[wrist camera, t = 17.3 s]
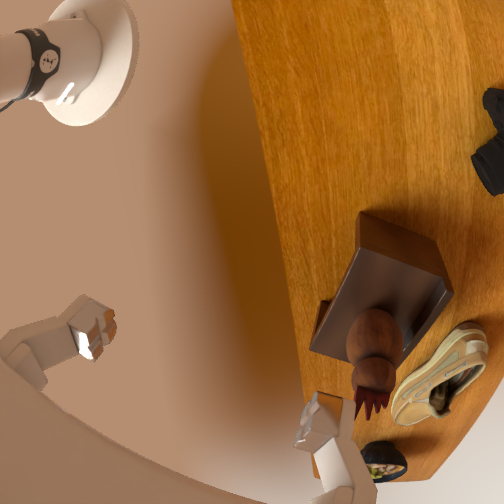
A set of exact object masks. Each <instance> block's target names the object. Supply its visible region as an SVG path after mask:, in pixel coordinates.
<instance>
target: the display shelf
mask: <svg viewBox="0 0 504 504" xmlns="http://www.w3.org/2000/svg"><path fill="white" fill-rule="evenodd" d="M453 295H454V291H453V288H452V285H451V282H450V279H449V276H448V273H447V270H446V268H445V265H444V262H443V260H442V257H441V254H440V252H439V249H438V247H437V244H436V242H435V241H433V240H431V239H428V238H426V237H423V236H421V235H419V234H416V233H414V232H411V231H409V230H406V229H404V228H401V227H399V226H396V225H394V224H391V223H388V222H386V221H383V220H381V219H378V218H375V217H373V216H370V215H367V214H365V213H362V212H359V214H358V217H357V219H356V234H355V253H354V255H353V257H352V259H351V262H350V264H349V266H348V268H347V270H346V272H345V275H344V277H343V279H342V281H341V283H340V285H339V287H338V289H337V291H336V294H335V296H334V298H333V300H332V302H331V304H329V303H326V302H323V301H321V302H320V304H319V306H318V310H317V315H316V320H315V324H314V329H313V333H312V338H311V343H310V347H309V350H310V351H313V352H316V353H319V354H322V355H326V356H329V357H332V358H335V359H338V360H342V361H345V362H348V363H351V362H350V361H349V360H348V356H347V350H346V342H347V336H348V333H349V330H350V328H351V326H352V324H353V322H354V320H355V319H356V317H357V316H358V315H359V314H360V313H362V312H363V311H365V310H367V309H372V308H377V309H381V310H384V311H386V312H388V313H389V314H390V315H391V316H392V317H393V319H394V320H395V322H396V323H397V325H398V326H399V328H400V330H401V332H402V335H403V342H404V344H403V356H402V359H401V361H400V363H399V365H398V366H397V368H398V367H399V366H400V365H401V364H402V363H403V361H404V360H405V359H406V358H407V357H408V355H409V354H410V353H411V352H412V350H413V349H414V348H415V347H416V346H417V344H418V343H419V342H420V340H421V339H422V338H423V337H424V335H425V334H426V333H427V331H428V330H429V329H430V327H431V326H432V325H433V323H434V322H435V321H436V319H437V318H438V316H439V315H440V314H441V312H442V311H443V309H444V308H445V307H446V305H447V304H448V302H449V301H450V299H451V298H452V296H453ZM397 368H396V369H395V371H396V370H397Z"/></svg>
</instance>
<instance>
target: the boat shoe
mask: <svg viewBox="0 0 504 504" xmlns="http://www.w3.org/2000/svg"><path fill="white" fill-rule="evenodd" d="M486 342H487V340H486V335H485V331H484V329H483V327H482V326H480V325H479V324H476V323H472V322H466V323H462V324H460V325H458V326H457V327H456V328H454V329H453V330H452V331H451V332H450V333H449V334H448V335H447V337H446V338H445V339H444V340H443V341H442V342H441V343H440V345H439V346H438V347H437V349H436V350H435V352H434V354H433V355H432V357H431V358H430V359H429V361H428V362H427V363H425V364H424V365H421V366H419V367H418V368H417V369H416V370H414V371H413V372H412V373H411V374H410V375H408V376H407V377H406V378H405V379H404V381H403V382H402V383H401V385H400V386H399V388H398V390H397V392H396V394H395V396H394V399H393V402H392V408H391V413H392V418H393V420H394V421H395V423H396V424H398V425H401V426H411V425H414V424H417V423H419V422H420V421H422V420H425V419H426V418H428V417H430V416H434V417H435V418H438V419H440V418H444V417H445V416H447V415H448V414H449V413H450V410H449V406H450V404H451V403H452V402H453V400H454V398H455V397H456V396H457V395H459V394H460V393H461V392H462V391H463V390H465V389H466V388H467V387H468V386H469V385H470V384H471V383H472V382H474V381H475V380H476V379H477V378H478V377H479V376H480V375H481V374H482V373H483V372H484V370H485V368H486V366H487V353H488V350H489V347H488V344H487V343H486Z"/></svg>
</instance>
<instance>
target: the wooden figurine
mask: <svg viewBox="0 0 504 504" xmlns="http://www.w3.org/2000/svg"><path fill="white" fill-rule="evenodd" d="M403 344H404V342H403V335H402V332H401V330H400V328H399V326H398V325H397V323H396V322H395V320H394V319H393V317H392V316H391V315H390V314H389V313H388V312H386V311H384V310H381V309H377V308H372V309H367V310H365V311H363V312H362V313H360V314H359V315H358V316H357V317H356V319H355V320H354V322H353V324H352V326H351V328H350V330H349V333H348V336H347V342H346V350H347V356H348V360H349V361H350V362H351V364H352V365H353V366H354V367H355V368H354V370H353V373H352V387H353V390H354V391H355V394H354V401H355V403H356V409H355V417H354V421H355V419H356V417H357V415H358V412H359V410H360V408H361V406H362V403H363V401H364V403H365V413H366V420H367V421H369V420H370V416H371V412H372V408H373V404H374V406H375V411H376V413H377V414H378V413H379V412H380V407H381V404H382V406H383V408H384V409H385V408H386V407H387V405H388V402H389V398H390V394H391V392H392V391H393V389H394V387H395V382H396V371H395V369H396V368H397V366H398V365H399V363H400V361H401V359H402V356H403Z"/></svg>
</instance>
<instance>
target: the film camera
mask: <svg viewBox="0 0 504 504" xmlns="http://www.w3.org/2000/svg"><path fill="white" fill-rule="evenodd" d="M483 106H484V109H486V110H487V111H488V113H489V115H490V117H491V119H492V121H493V123H494V124H493V125H494V126H495V128H496V129H497V131H498V134H497V135H496V136H494V137H493V138H494V139H491V140H489V141H488V142H487V144H485V145H483V146H481V147H480V148H478V149H477V150H476V153H475V154H474V155H471V160H472V163H473V166H474V168H475V170H476V172H477V174H478V176H479V178H480V180H481V181H482V183H483V185H484V186H485V188H486V189H487V191H488V192H489V193H490V194H491V195H492V196H494V197H495V196H496V195H498V194H503V193H504V90H500V89H494V88H488V90H487V91H485V93H484V96H483Z"/></svg>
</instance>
